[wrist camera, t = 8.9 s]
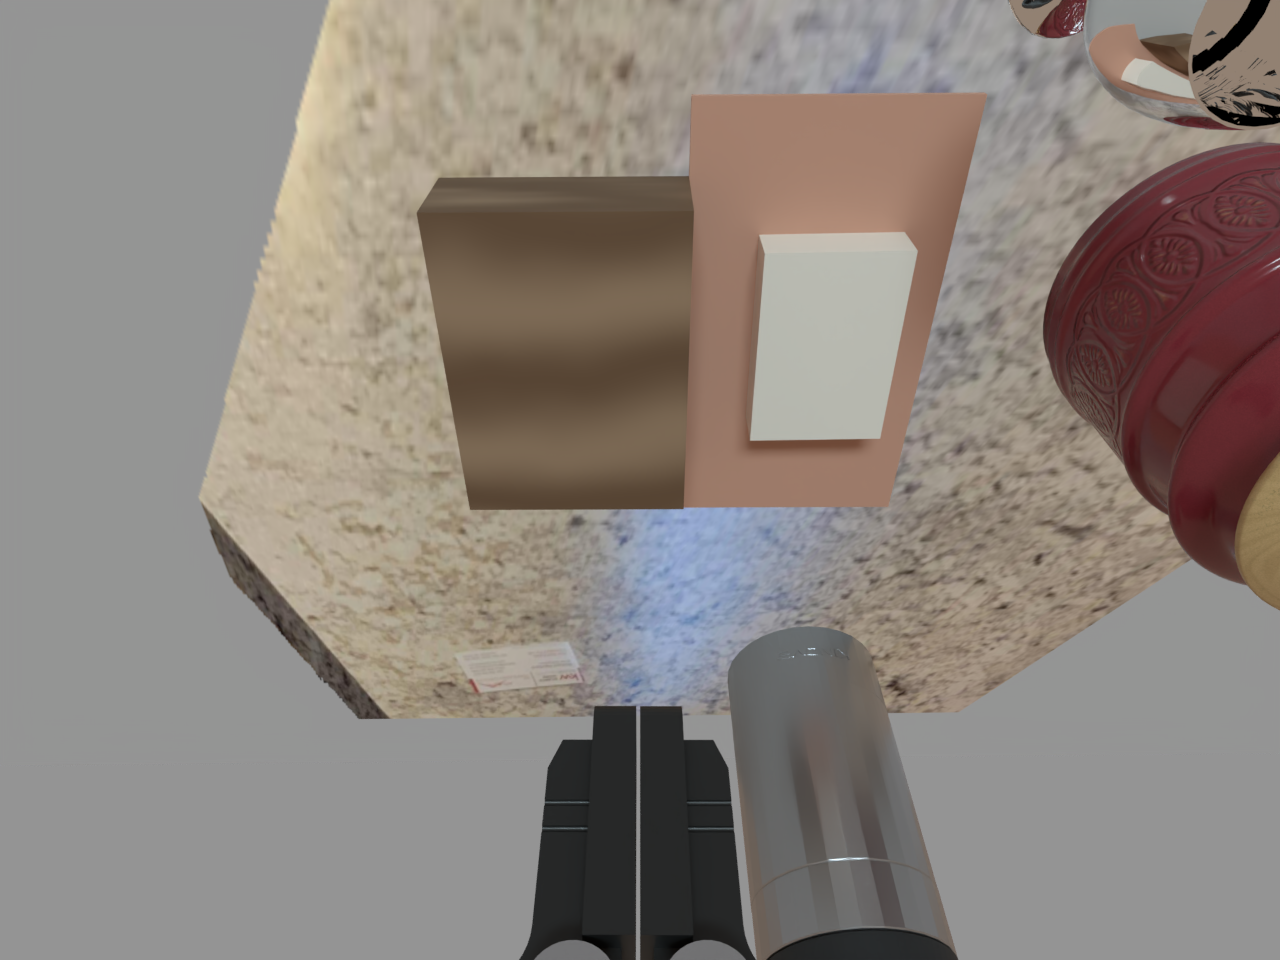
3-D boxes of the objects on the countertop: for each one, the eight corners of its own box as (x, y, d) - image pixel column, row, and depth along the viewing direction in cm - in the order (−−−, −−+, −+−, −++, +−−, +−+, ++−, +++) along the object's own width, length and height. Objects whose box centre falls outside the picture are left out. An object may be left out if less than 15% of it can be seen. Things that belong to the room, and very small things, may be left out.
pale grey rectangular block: (749, 440, 37) (745, 416, 39) (879, 438, 37) (870, 414, 38) (764, 253, 31) (759, 234, 33) (917, 250, 31) (904, 232, 33)
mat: (886, 503, 42) (888, 506, 42) (679, 503, 42) (679, 507, 42) (984, 92, 30) (987, 94, 30) (691, 94, 30) (691, 96, 30)
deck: (680, 458, 40) (683, 509, 37) (483, 459, 41) (470, 509, 37) (689, 176, 32) (693, 210, 29) (438, 177, 32) (416, 212, 29)
